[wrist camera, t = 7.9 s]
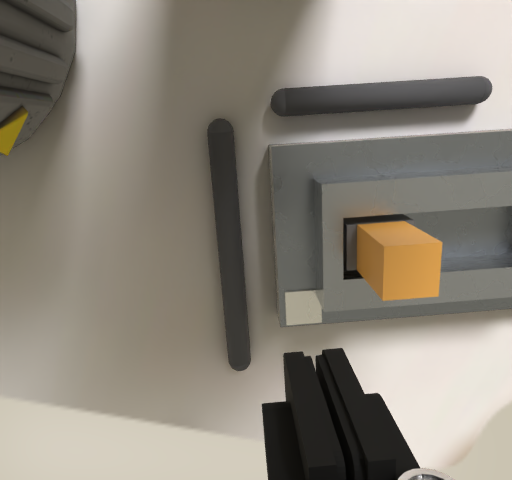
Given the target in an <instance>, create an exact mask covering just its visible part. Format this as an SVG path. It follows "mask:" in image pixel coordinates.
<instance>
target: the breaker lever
mask: <svg viewBox="0 0 512 480" xmlns="http://www.w3.org/2000/svg"><path fill="white" fill-rule="evenodd" d="M441 256H442V242H441V241H439V240H437V239H436V238H434V237H432V236H430V235H429V234H427V233H425V232H423V231H421V230H420V229H418V228H416V227H415V220H413V219H411V218H410V217H408V216H406V215H404V214H392V215H378V216H364V217H350V218H343V266H344V268H345V269H346V270H347V271H349V270H357V271H358V272H359V273H360V274H361V276H362V277H363V278H364V279H365V280H366V282H367V283H368V284H369V285H370V286H371V288H372V289H373V290H374V291H375V292H376V293H377V295H378V296H379V297H380V298H381V299H382V301H388V300H400V299H413V298H426V297H438V296H439V284H440V270H441Z"/></svg>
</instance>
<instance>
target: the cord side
mask: <svg viewBox="0 0 512 480" xmlns="http://www.w3.org/2000/svg"><path fill="white" fill-rule="evenodd" d="M491 92H492V84H491V82H490V81H489V79H487V78H486V77H482V76H476V77H460V78H444V79H428V80H412V81H396V82H381V83H365V84H349V85H333V86H317V87H301V88H285V89H280V90H278V91H276V92H275V93H274V94H273V96H272V98H271V107H272V110H273V111H274V112H275V113H276V114H277V115H279V116H297V115H313V114H328V113H343V112H359V111H374V110H390V109H405V108H421V107H436V106H451V105H467V104H478V103H481V102H483V101H485V100H486V99H487V98H488V97H489V96H490V94H491Z"/></svg>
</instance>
